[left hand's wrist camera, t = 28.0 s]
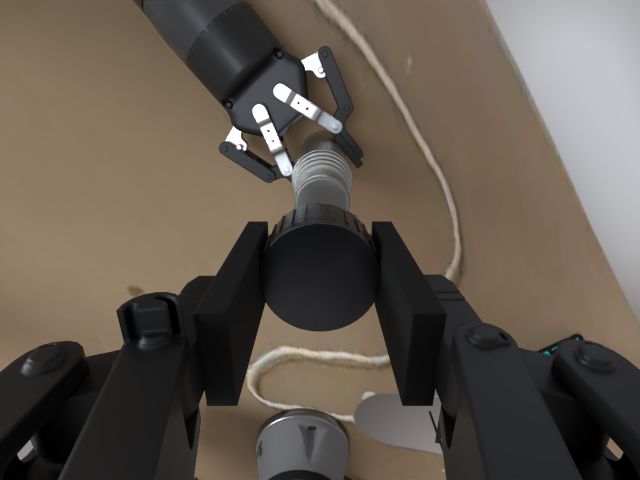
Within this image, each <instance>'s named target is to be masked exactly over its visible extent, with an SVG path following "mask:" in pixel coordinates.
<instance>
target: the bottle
mask: <svg viewBox="0 0 640 480" xmlns="http://www.w3.org/2000/svg"><path fill="white" fill-rule="evenodd" d="M292 189H293V192H294V194H295V208H296V209H297V208H300V207H302V206H305V205H306V204H307V205H310V204H318V203H320V204H329V205H331V204H333V205H334V206H337V207H340V208H345V209H346V210H347V211H349V208H350V197H349V195H350V192H351V189H352V172H351V169H350V166H349V164H348V162H347V159H346V157H345V155H344V152H343V150H342V149H341V147H340V146H339V145H338V144H337V143H336V141H335V140H334V139H333V135H332V134H331V133H329V132H325V131H319V132H315V133H313V134H311V135H310V136H309V137H308V138H307V139H306V140H305V142H304V144H303V147H302V149H301V151H300V154H299V156H298V159H297V161H296V164H295V166H294V169H293V172H292Z"/></svg>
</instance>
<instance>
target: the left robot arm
mask: <svg viewBox="0 0 640 480" xmlns="http://www.w3.org/2000/svg"><path fill="white" fill-rule="evenodd" d="M371 238H372V241H373V243H374V246H375V248H376V251H377V253H376V256H377V259H378V262H379V265H380V271H381V272H380V286H379V292H378V295H377V297H376V299H375V301H374V303H375V307H376V310H377V314H378V318H379V321H380V325H381V329H382V332H383V336H384V340H385V343H386V347H387V351H388V354H389V358H390V362H391V365H392V369H393V372H394V376H395V380H396V383H397V387H398V391H399V394H400V398H401V402H402V405H403V406H432V405H433V399H434V393H435V389H436V391H437V394H438V396H439V398H440V401H441V403H442V404H441V410H440V416H439V422H438V427H436V425H435V422H434V419H433V416H432V413H431V411H429V414H430V417H431V420H432V423H433V426H434V429H435V432H436V440H435V442H436V443H440V446H441V449H442V452H443V456H444V464H445V472H446V480H640V370H639V369H638V368H637V367H636V366H634V365H633V364H632V363H631V362H629V361H628V360H627V359H626V358H624V357H622V356H621V355H619V354H618V353H616V352H615V351H613V350H611V349H609V348H606V347H604V346H602V345H601V344H598V343H595V342H591V341H586V340H576V339H570V340H564V341H562V342H561V343H559V344H558V345H557V348H556V352H555V355H550V354H545V353H540V352H535V351H530V350H525V349H522V348H518V346H517V343H516V342H515V340H514V339H513V338H512V337H511V335H509V334H508V333H507V332H505V331H504V330H502V329H501V328H498V327H496V326H493V325H491V324H487V323H483V322H482V321H481V319H480V318H479V317H478V315H477V314H476V313H475V311H474V310H473V309H472V307H471V306H470V305H469V303H468V302H467V301H465V298H464V297H463V295H462V294H461V293H460V291H459V290H458V289H457V287H456V286H455V285H454V283H453V282H451V281H450V280H448V279H447V278H445V277H444V276H442V275H423V273H422V272H421V270H420V269H419V267H418V265H417V264H416V262H415V260H414V259H413V257H412V255H411V254H410V252H409V250H408V249H407V247H406V245H405V244H404V242H403V240H402V239H401V237H400V235H399V234H398V232H397V230H396V229H395V227H394V225H393V224H392V222H372V234H371ZM267 240H268V222H248V223H247V225H246V227H245V228H244V230H243V232H242V233H241V235H240V237H239V238H238V240H237V242H236V243H235V245H234V247H233V248H232V250H231V252H230V253H229V255H228V257H227V258H226V260H225V261H224V263H223V265H222V266H221V268H220V270H219V271H218V273H217V275H216V276H198V277H197V278H195V279H193V280H192V281H190V282H189V283H187V284H186V286H185V287H184V288H183V290H182V291H181V292H180V294H179V295H178V296H177V295H176V294H173V293H168V292H155V293H149V294H144V295H141V296H138V297H136V298H133V299H131V300H129V301H127V302H126V303H124V304H122V305H121V306H120V307H119V309H118V310H117V315H118V319H119V323H120V327H121V331H122V335H123V339H124V344H123V346H122V348H121V350H117V351H113V352H108V353H103V354H98V355H93V356H88V357H86V356H85V353H84V349H83V347H82V346H81V345H80V344H79V343H78V342H72V341H61V342H53V343H49V344H45V345H42V346H39V347H37V348H35V349H33V350H31V351H29V352H27V353H25V354H24V355H22V356H20V357H19V358H17V359H16V360H14V361H13V362H12V363H11V364H10V365H8V366H7V367H6V368H5V369H3V370H2V371H1V372H0V480H199V479H197V477H194V473H195V465H196V457H197V448H198V440H199V432H200V424H201V416H200V410H199V402H200V400H201V397H202V395H203V392H204V390H205V394H206V401H207V406H237V405H238V401H239V397H240V394H241V390H242V386H243V383H244V379H245V375H246V372H247V368H248V364H249V361H250V357H251V353H252V350H253V346H254V342H255V339H256V335H257V331H258V328H259V324H260V320H261V317H262V313H263V309H264V306H265V300H264V298H263V296H262V293H261V289H260V276H259V268H260V264H261V261H262V258H263V254H262V253H263V250H264V248H265V245H266V243H267ZM610 438H611V439H612V440H613V441H614V442H615V443H616V444H617V445H618V446H619V448H620V449H621V450H622V451H623V452H624V453H623V455H622V457H621V458H620V459H619V458H617V457H616V456H615V455H614V454H613V453H612V452H611V451H610V450H609V448H608V447H607V444H608V442H609V439H610ZM441 439H442V441H441ZM29 440H31V443H32V445H33V447H34V448H33V449H32V450H31V451H30V453H29V454H28V455H27V456H26V457H24V458H23V459H22V460H20V459H19V458H18V456H17V453H18V452H19V451H20V450H21V449H22V448H23V447H24V446H25V444H26V443H27V442H28V441H29ZM349 452H350V450H349V439H348V435H347V432H346V430H345V429H344V427H343V426H342V425H341V424H340V423H339V422H338V421H337V420H336V419H334V418H333V417H331V416H329V415H327V414H325V413H322V412H319V411H314V410H307V409H298V410H290V411H286V412H282V413H280V414H277V415H275V416H274V417H272V418H270V419H269V420H268V421H267V422H266V423H265V424H264V425H263V426H262V428H261V429H260V431H259V434H258V438H257V443H256V459H257V466H258V473H259V479H260V480H352V479H350V478H348V477H346V476H345V475H344V474H345V470H346V465H347V463H348V459H349Z"/></svg>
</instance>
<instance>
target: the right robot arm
mask: <svg viewBox="0 0 640 480" xmlns="http://www.w3.org/2000/svg"><path fill="white" fill-rule="evenodd" d="M133 1H134V2H135V4H136V5H137V6H138V7H139V8H140V9H141V10H142V12H143V13H144V14H145V15H146V16H147V17H148V19H149V20H150V21H151V22H152V24H153V25H154V27H155V28H156V30H157V31H158V32H159V34H160V35H161V37H162V38H163V39H164V41H165V42H166V43H167V44H168V45H169V46H170V48H171V49H172V50H173V51H174V52H175V53H176V54H177V55H178V57H179V58H180V59H181V60H182V61H183V62H184V63H185V64H186V66H187V67H188V68H189V69H190V70H191V71H192V72H193V73H194V75H195V76H196V77H197V78H198V79H199V80H200V81H201V82H202V83H203V85H204V86H205V87H206V88H207V89H208V90H209V91H210V92H211V94H212V95H213V96H214V97H215V98H216V99H217V100H218V101H219V103H220V104H221V105H222V106H223V107H224V108H225V109H226V111H227V112H228V114H229V116H230V119H231V123H232V125H233V128H232V130H231V132H230V133H229V135H228V137H227V139H226V141H225V142H222V143H221V144H220V145H219V151H220V153H221V154H223V155H224V156H226V157H228V158H229V159H231V160H232V161H234V162H235V163H237V164H238V165H240V166H242V167H243V168H245V169H246V170H248V171H249V172H251V173H252V174H254V175H256V176H257V177H259V178H260V179H262V180H263V181H265V182H267V183H271V182H273V181H274V180H277V179H280V178H287V179H288V180H289V181H290V182H291V183H292V172H293V169H294V166H295V164H294V162H293V159H292V157H291V155H290V152H289V150H288V147H287V144H286V141H285V139H284V137H283V135H284V134H285V133H286V132H287V131H288V130H289V129H290V127H291V125H292V124H294V123H296V122H298V121H299V120H301V119H302V118H303V117H304V116H307V117H308V118H310V119H311V120H313V121H314V122H316V123H318V124H320V125H321V126H323V127H324V128H326V129H327V130H329V131H330V132H331V133H332V134H333V139H334V140H335V141H336V143H337V144H338V145H339V146H340V147H341V149H342V150H343V151H344V152H345V154H346V155H347V156H348V157H349V159H350V160H351V161H352V162H353V164H354V165H355V166H356V167H357V168H359V167H360V166H361V165H362V164H363V163H362V161H361V160H360V158H362V157H363V152H362V150H361V149H360V147H359V146H358V145H357V143H356V142H355V141H354V140H353V138H352V137H351V136H350V135H349V133H348V132H347V131H346V129H345V122H346V120H347V118H348V117H349V115H350V114H351V113H352V111H353V104H352V102H351V99H350V97H349V94H348V92H347V89H346V87H345V84H344V82H343V79H342V77H341V74H340V72H339V69H338V67H337V64H336V62H335V59H334V57H333V54H332V51H331V49H330V48H329V47H327V46H323V47H321V48H320V49H319V51H318V52H317V53H315V54H313V55H311V56H309V57H307V58H305V59H303V60H300V59H298V58H296V57H294V56H292V55H290V54H289V53H287V51H286V50H285V49H284V48H283V46H282V45H281V44H280V43H279V41H278V40H277V39H276V38H275V36H274V35H273V34H272V32H271V31H270V30H269V29H268V27H267V26H266V25H265V23H264V22H263V21H262V20H261V18H260V17H259V16H258V15H257V13H256V12H255V11H254V10H253V9H252V7H251V6H250V4H249V3H248V2H247V1H246V0H133ZM306 71H312V72H314V74H315V75H316V76H317V77H318V78H324V77H326V79H327V82H328V84H329V87H330V89H331V92H332V94H333V96H334V99H335V101H336V104H337V106H338V108H337V110H336V111H335V113H334V115H333V116H332V115H330V114H329V113H327V112H326V111H324V110H323V109H321V108H320V107H318V106H317V105H315V104H314V103H312V102H311V101H309V100H308V90H307V78H306ZM308 108H309V109H308ZM243 132H244V133H248V134H252V135H256V136H260V137H264V138H265V140H266V142H267V144H268V147H269V149H270V151H271V153H272V155H273V156H274V158H275V160H276V162H277V165H274V166H272V165H271V164H269V163H268V162H266V161H265V160H263V159H262V158H260V157H259V156H257V155H256V154H254V153H253V152H251V151H249V150H248V142H247V141H246V140H245V139H244V138H243Z"/></svg>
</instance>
